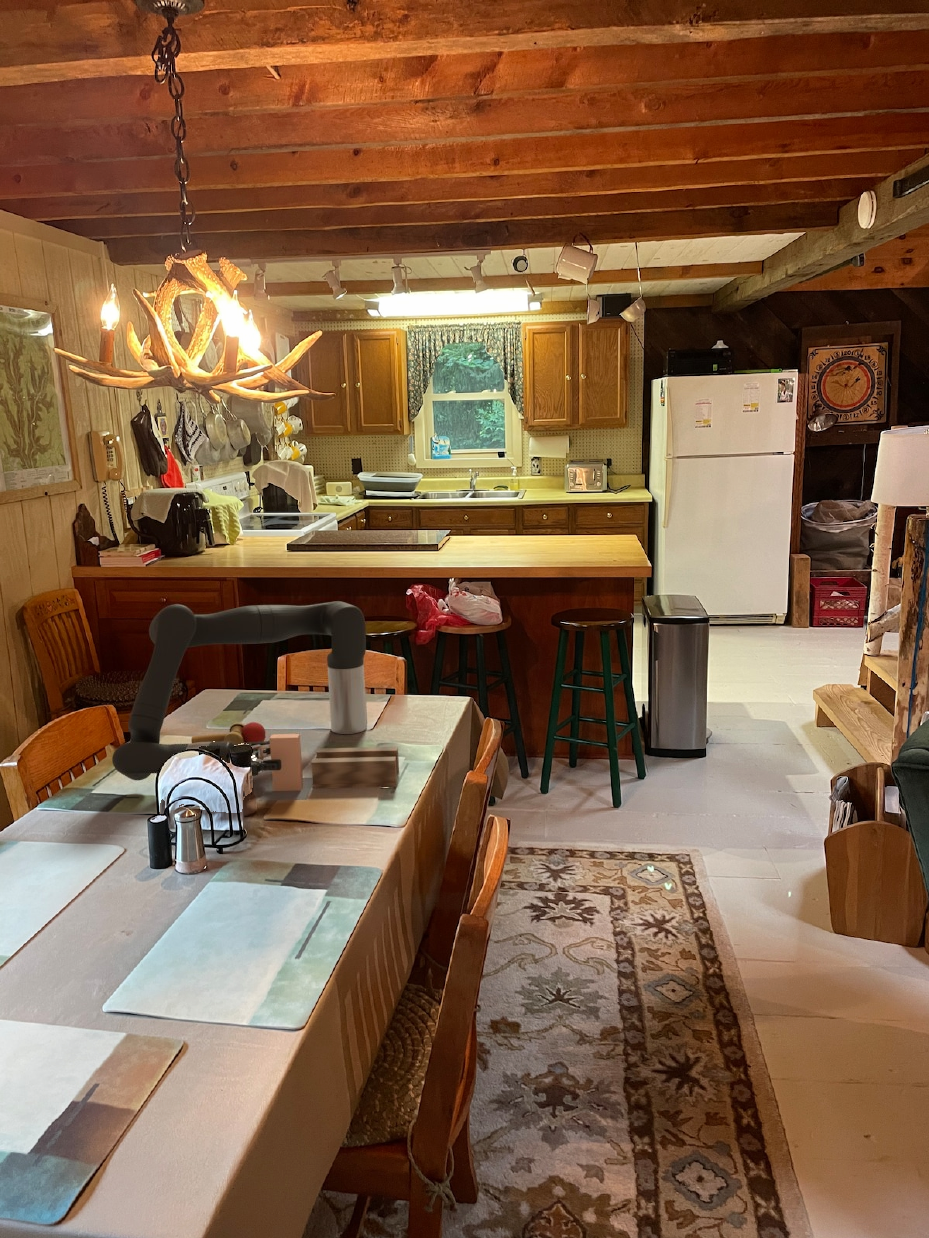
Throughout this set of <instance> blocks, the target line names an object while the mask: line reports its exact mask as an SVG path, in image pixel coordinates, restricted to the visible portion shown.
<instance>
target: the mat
mask: <svg viewBox="0 0 929 1238" xmlns="http://www.w3.org/2000/svg"><path fill="white" fill-rule="evenodd" d="M312 789H313V777H303V788H302V790H296V791H274V789H273V777H271V778H270V781H269V783H268V784H267V785H266V787H265V789H264V791H263V793H262V795H261V797H260V799H259V802H261V801H296V800H297V801H298V800H299V801H301V800H304V801H305V800H308V797H309V795H310V792H311V791H312Z"/></svg>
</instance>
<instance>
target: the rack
mask: <svg viewBox="0 0 929 1238" xmlns="http://www.w3.org/2000/svg"><path fill="white" fill-rule="evenodd" d="M315 755H316V758H313V759H312V761H311V775H312V777H313V786H312V789H343V788H347V789H349V788H350V789H351V788H380V787H396V788H397V786H396V784H397V785H398V781H397V780H399V776H398V774H399V775H400V764H399V763H400V761H399V747H398V746H370V747H369V746H367V747H363V746H362V747H335V748H334V747H333V748H332V747H331V748H330V747H329V748H328V747H327V748H317V750H316V753H315Z"/></svg>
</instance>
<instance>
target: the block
mask: <svg viewBox="0 0 929 1238" xmlns="http://www.w3.org/2000/svg"><path fill="white" fill-rule="evenodd" d="M269 741H270V750H271V756H270V759H280V760H281V765H282V768H281V769H280V770H271V772H272V778H273V789H274V791H296V790H302V788H303V778H304V777H303V776H304V775H303V774H304V773H303V762H302V747H301V735H300V733H285V734H284V733H280V734H276V733H275V734H271V736H270V737H269Z"/></svg>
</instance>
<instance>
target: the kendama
mask: <svg viewBox="0 0 929 1238" xmlns="http://www.w3.org/2000/svg"><path fill="white" fill-rule="evenodd" d="M266 737H267V736H266V729H265V728H264V726H263V725H262V724H260V723H259V722H257V721H255V722H254V721H251V722H249V723H246V724H245V723H243V722H235V723H233V724H231V725H230V727H229V732H227V733H215V734H213V733H212V734H204V735H192V736H191V743H197V742H213V741H215V742H221V741H231V742H232V743H233V744H234V745H238V744H241V743H245V742H263V741H265V739H266Z"/></svg>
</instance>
